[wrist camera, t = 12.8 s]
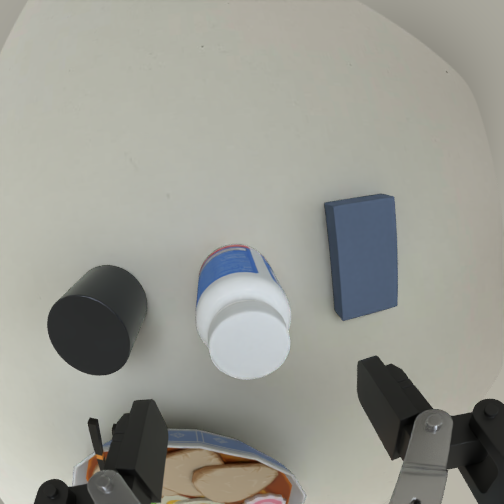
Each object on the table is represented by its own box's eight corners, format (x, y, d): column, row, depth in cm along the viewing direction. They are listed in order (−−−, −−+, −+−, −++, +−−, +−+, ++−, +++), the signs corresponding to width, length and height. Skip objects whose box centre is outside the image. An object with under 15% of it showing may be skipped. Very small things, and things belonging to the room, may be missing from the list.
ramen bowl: (262, 511, 34) (270, 556, 26) (99, 490, 31) (88, 536, 23) (325, 388, 28) (353, 449, 20) (79, 350, 25) (44, 409, 17)
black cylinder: (150, 272, 24) (132, 306, 18) (144, 340, 25) (129, 384, 19) (79, 258, 23) (44, 286, 17) (78, 325, 24) (50, 363, 18)
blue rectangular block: (323, 202, 24) (332, 206, 22) (382, 193, 24) (394, 196, 22) (334, 310, 26) (342, 321, 24) (386, 297, 26) (397, 306, 24)
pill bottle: (187, 292, 24) (173, 367, 15) (219, 230, 23) (221, 276, 14) (250, 320, 25) (269, 401, 16) (284, 262, 24) (324, 323, 15)
